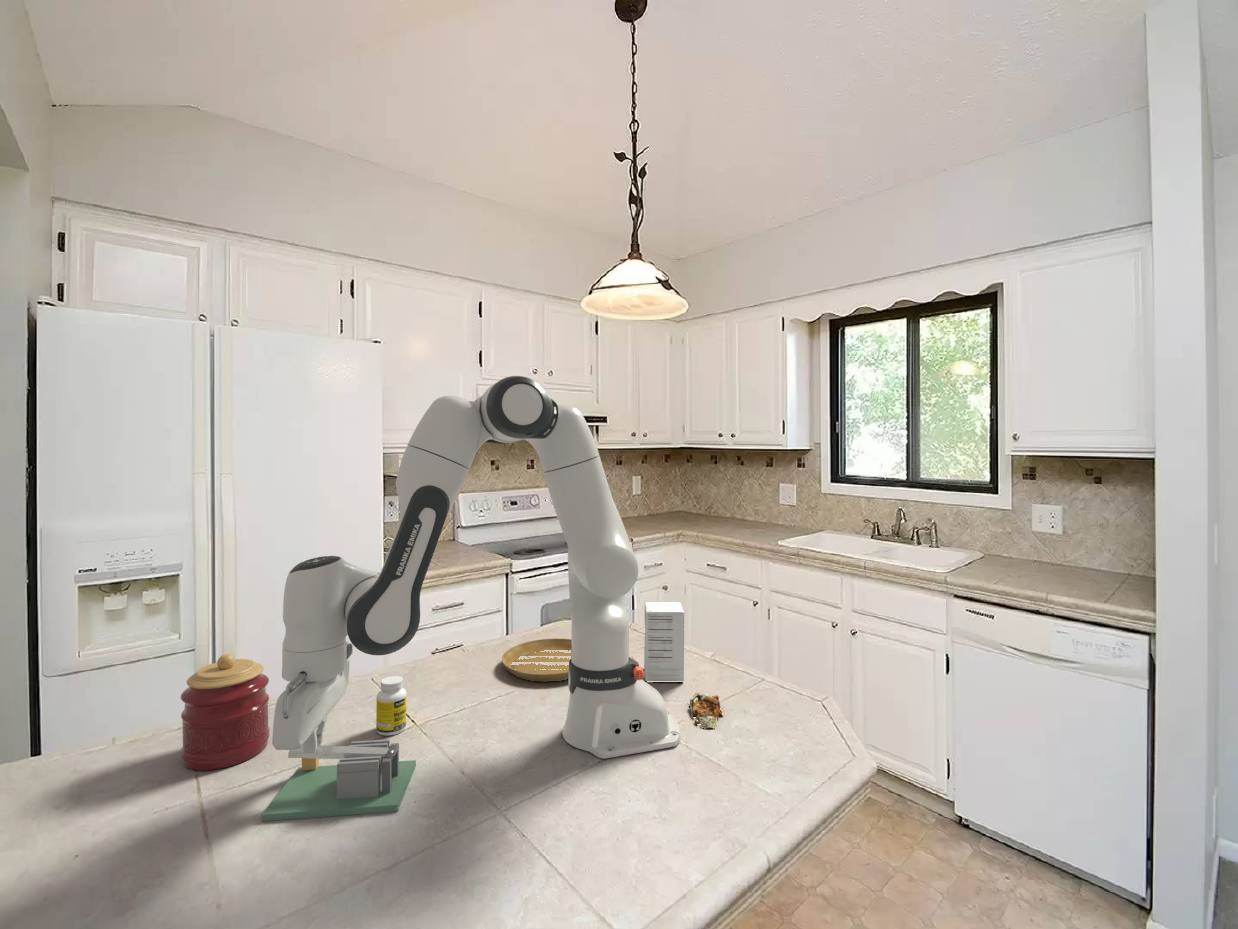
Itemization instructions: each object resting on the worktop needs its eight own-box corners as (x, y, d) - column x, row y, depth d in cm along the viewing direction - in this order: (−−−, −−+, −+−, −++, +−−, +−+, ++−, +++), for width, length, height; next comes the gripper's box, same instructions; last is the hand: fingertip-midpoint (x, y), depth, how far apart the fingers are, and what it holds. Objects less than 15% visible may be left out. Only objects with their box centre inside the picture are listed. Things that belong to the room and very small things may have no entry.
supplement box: (684, 684, 133) (685, 612, 133) (645, 683, 133) (645, 612, 133) (680, 668, 143) (681, 601, 142) (643, 667, 143) (644, 601, 142)
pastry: (694, 731, 112) (695, 713, 111) (686, 703, 124) (686, 687, 123) (729, 731, 112) (730, 713, 112) (718, 703, 124) (718, 687, 124)
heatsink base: (415, 766, 98) (415, 729, 98) (397, 811, 86) (397, 769, 86) (298, 773, 96) (298, 735, 95) (262, 821, 83) (261, 778, 83)
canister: (285, 743, 105) (284, 648, 105) (210, 780, 93) (208, 674, 93) (241, 728, 111) (240, 638, 110) (165, 761, 99) (163, 661, 98)
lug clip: (318, 765, 96) (318, 724, 96) (308, 779, 92) (308, 736, 92) (304, 766, 96) (304, 724, 95) (294, 780, 92) (294, 736, 92)
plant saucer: (511, 693, 128) (511, 679, 128) (494, 657, 150) (494, 644, 150) (612, 678, 136) (612, 665, 136) (582, 646, 159) (582, 634, 159)
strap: (397, 753, 93) (398, 745, 93) (392, 763, 90) (393, 754, 90) (295, 750, 91) (295, 742, 91) (286, 760, 88) (287, 751, 88)
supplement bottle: (396, 738, 107) (395, 687, 107) (370, 735, 108) (370, 684, 108) (412, 724, 113) (411, 675, 112) (387, 721, 114) (387, 673, 113)
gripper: (308, 688, 79) (306, 786, 80) (356, 639, 100) (355, 718, 100) (260, 689, 79) (258, 788, 79) (318, 640, 99) (317, 719, 99)
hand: (313, 748), depth 90 cm, fingers closed, pressing on strap
